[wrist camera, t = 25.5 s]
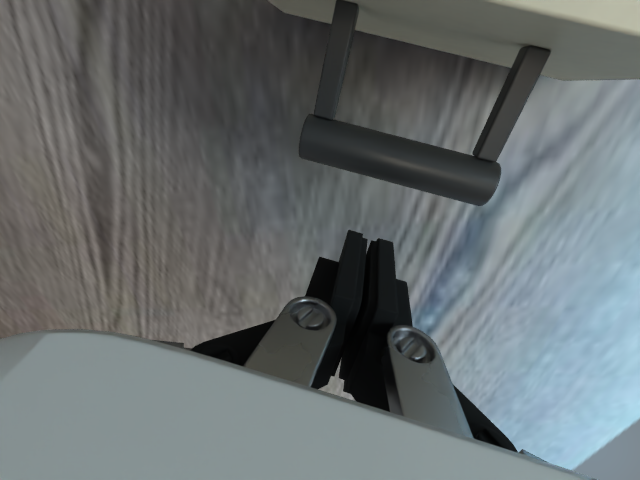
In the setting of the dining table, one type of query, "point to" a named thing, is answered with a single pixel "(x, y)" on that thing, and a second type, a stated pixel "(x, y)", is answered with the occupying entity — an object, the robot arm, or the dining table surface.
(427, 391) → the robot arm
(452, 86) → the dining table surface
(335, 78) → the drawer
